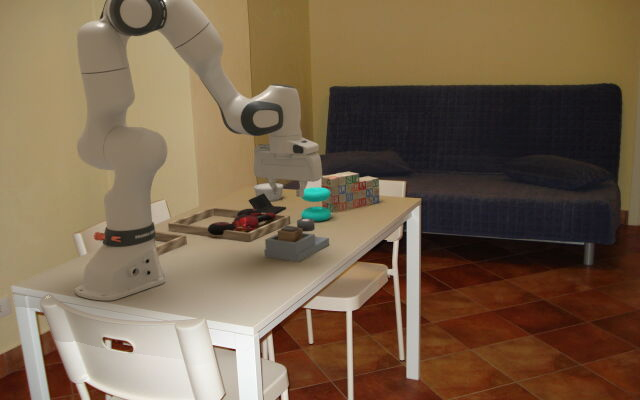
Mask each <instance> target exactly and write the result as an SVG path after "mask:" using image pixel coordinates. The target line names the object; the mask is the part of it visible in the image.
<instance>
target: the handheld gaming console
mask: <svg viewBox="0 0 640 400" xmlns="http://www.w3.org/2000/svg"><path fill="white" fill-rule="evenodd" d="M248 202H249V204H250V205H251V206H252V209H257V210H259V211H260V212H261V213H274V214H278V215H279V213H281V212H283V211H285V210H286V209H287V207H286V206H280V205H279V206H277V205H273V204H272V201H269V200H268V198H267V197H266V195H265V194H264V193H263V194H261V195H259V196H256V195H255V197H254V196H253V197H252V198H250V199H248Z"/></svg>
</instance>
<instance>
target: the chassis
mask: <svg viewBox="0 0 640 400" xmlns="http://www.w3.org/2000/svg"><path fill="white" fill-rule="evenodd" d="M264 241H265V248H264V249H263V251H264V257H265V258H270V259H277V260H284V261H291V262H301V261H302V260H305V259H306V258H308V257H310V256H312V255H313V254H315V253H317V252H319V251H320V250H323V249H324V248H326V247H328V246H329V245H330V238H329V237H323V236H316V234H314V233H308V232H303V238H302V239H300V240H298V241H297V242H289V241H281V240H278V233H277V234H274V235H272V236H270V237H268V238H266V239H265V240H264Z"/></svg>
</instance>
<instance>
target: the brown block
mask: <svg viewBox="0 0 640 400" xmlns="http://www.w3.org/2000/svg"><path fill="white" fill-rule="evenodd" d="M303 233H304V232H303V228H299V227H297V226H292V225H285V226H283V227H281V228H280V229H279V230H278V231H277V234H278V240H281V241H289V242H297V241H298V240H300V239H302V238H303Z"/></svg>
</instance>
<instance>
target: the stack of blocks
mask: <svg viewBox="0 0 640 400" xmlns="http://www.w3.org/2000/svg"><path fill="white" fill-rule="evenodd" d="M320 180H321V185H320V186H321V188H326V189H328V190H329V191H330V197H329V198H328V199H326V200H324V201H321V204H322V205H321V207H325V208H327V209H329V210H330V212H331V214H332V213H337V212H343V211H348V210H353V209H356V208H361V207H366V206H370V205H375V204H379V203H380V180H379V178H378V177H373V176H369V175H367V176H363V177H362V176H361V177H360V173H357V172H351V171H344V172H337V173H335V174H327V175H322V177H321V179H320ZM347 209H348V210H347Z"/></svg>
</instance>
